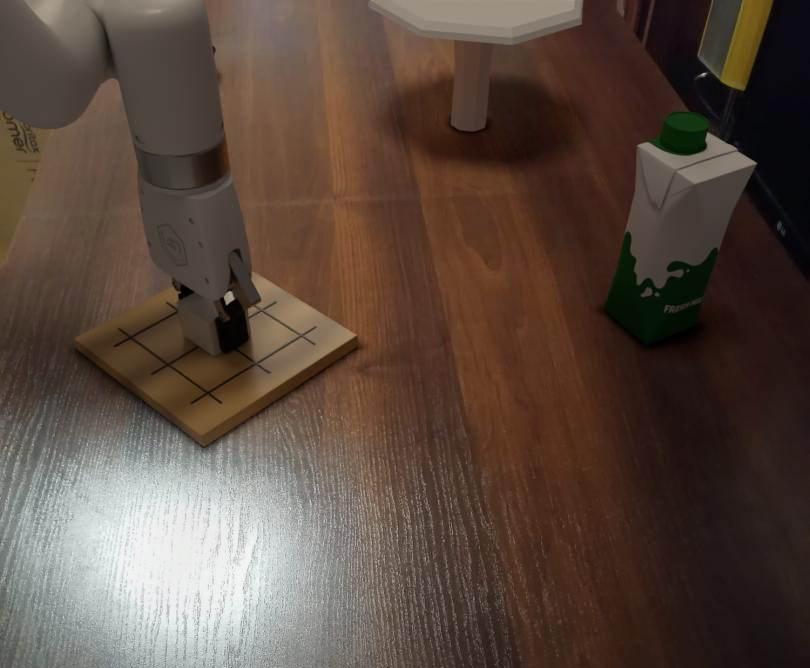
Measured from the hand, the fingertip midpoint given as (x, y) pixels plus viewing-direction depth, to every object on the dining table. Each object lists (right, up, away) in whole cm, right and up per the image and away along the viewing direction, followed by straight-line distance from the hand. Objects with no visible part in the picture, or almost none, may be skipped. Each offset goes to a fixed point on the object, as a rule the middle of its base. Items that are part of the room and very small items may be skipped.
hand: (216, 332), depth 86 cm
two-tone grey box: (0, 0, 0) cm, 0 cm away
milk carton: (+45, +3, +6) cm, 45 cm away
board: (0, -1, +2) cm, 2 cm away
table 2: (+28, +37, +33) cm, 56 cm away
